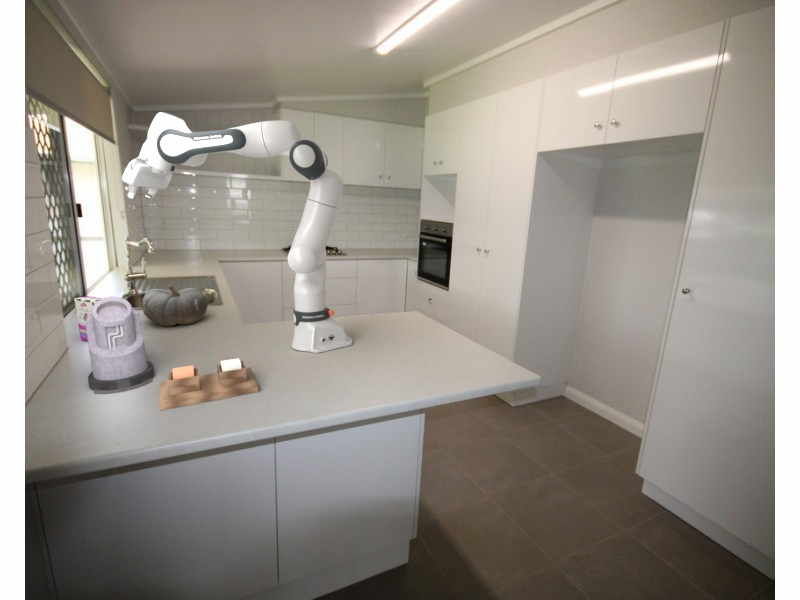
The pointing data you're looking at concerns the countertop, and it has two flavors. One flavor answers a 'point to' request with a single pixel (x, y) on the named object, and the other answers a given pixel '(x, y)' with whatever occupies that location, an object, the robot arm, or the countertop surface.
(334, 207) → the robot arm
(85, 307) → the candy bar box
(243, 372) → the key panel
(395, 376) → the countertop surface
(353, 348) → the countertop surface
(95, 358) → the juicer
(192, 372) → the terracotta key
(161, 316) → the gourd
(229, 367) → the ivory key
